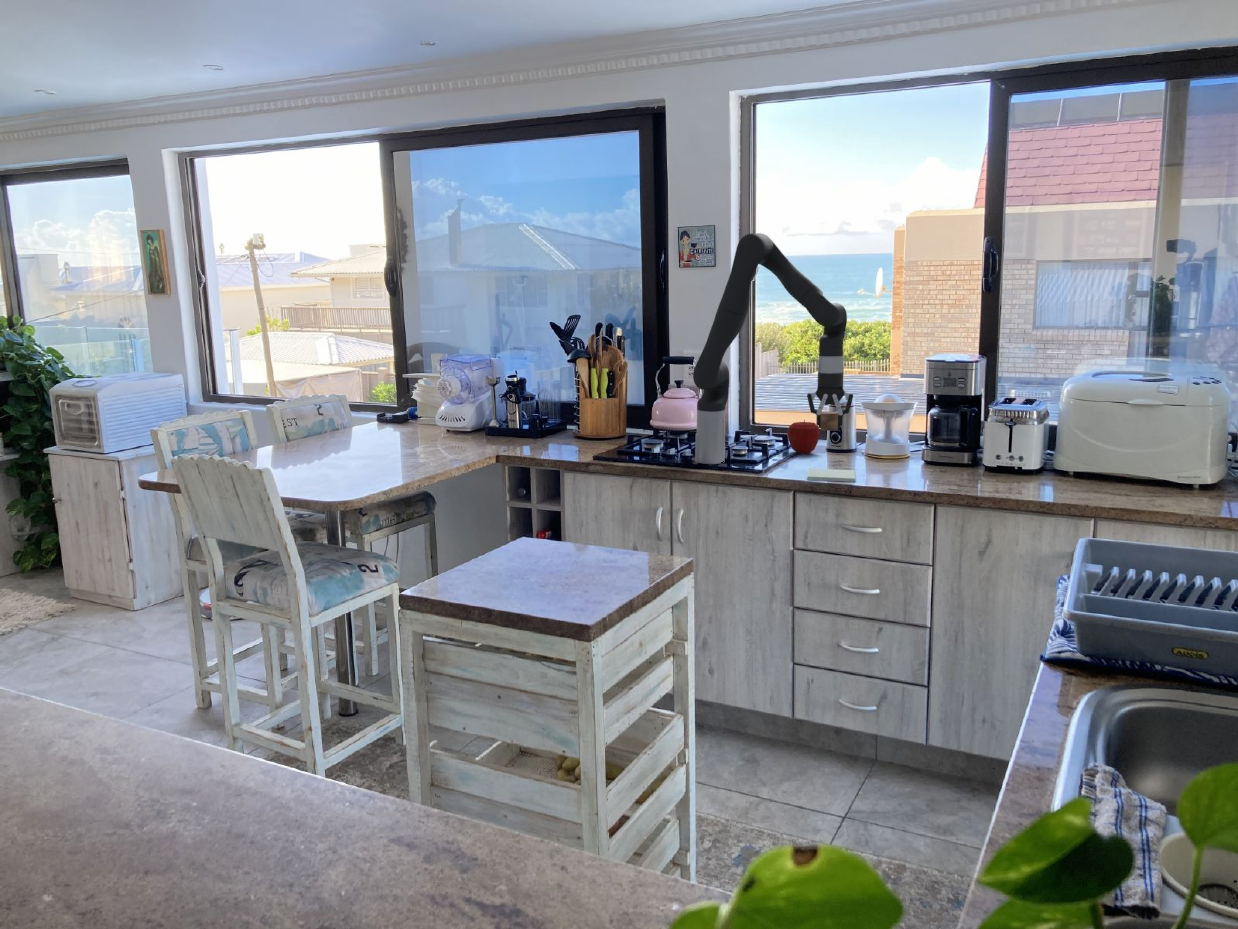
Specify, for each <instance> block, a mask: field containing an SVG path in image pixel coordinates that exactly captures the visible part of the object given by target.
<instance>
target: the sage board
mask: <svg viewBox="0 0 1238 929" xmlns="http://www.w3.org/2000/svg"><path fill="white" fill-rule="evenodd" d="M856 479H857V478H856V470H854V469H853V470H851V469H831V468H829V469H828V468H825V469H824V468H808V472H807V480H808V481H826V482H827V481H830V482H849V483H851V482H852V483H853V482H854V483H856Z"/></svg>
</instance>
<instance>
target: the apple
mask: <svg viewBox="0 0 1238 929" xmlns="http://www.w3.org/2000/svg"><path fill="white" fill-rule="evenodd" d="M786 433H787V441H788V443H789V444H790V448H791V450H792V451H794V453H795V454H798V455H809V454H811V453H812V452H813V451H815V449H816V448H817V445H818V442H819V439H820V435H821V430H820V427H819V426H818V425H817V424H816V423H815V422H813V421H812V422H811V421H810V422H809V421H806V420H805V419H804V420H803V421H797V422H793V423H791V425H789V426H788V429H787V430H786Z"/></svg>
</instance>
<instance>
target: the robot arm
mask: <svg viewBox="0 0 1238 929" xmlns="http://www.w3.org/2000/svg"><path fill="white" fill-rule="evenodd" d="M733 257H734V259H733V261H732V266H731V270H730V273H729V277H728V280H727V283H726V285H725V288H724V291H723V294H722V296H721V299H720V302H719V304H718V307H717V310H716V313H715V316H714V319H713V321H712V322H713V323H712V325H711V327H710V331H709V333H708V336H707V338H706V342H705V344H704V347H703V349H702V351H701V354H700V355H699V357H698V359H697V362H696V363H695V366H694V369H693V373H692V374H693V376H692V378H693V383H694V385H695V386H696V387H697V388H698V389H699V390H703V392H702V395H701V396H700V398H699V399H698V400H697V403H696V433H695V439H694V440H695V447H694V448H695V449H694V450H695V451H694V455H695V456H694V459H695V460H694V462H695V463H696V464H697V463H698V464H704V465H717V464H722V463H721V462H723V461H724V462H725V457H726V455H725V454H726V453H725V452H726V409H727V408H726V406H727V403H728V400H729V393H730V370H729V368H728V365H727V364H726V362H724V361H723V359H724V356H725V354H726V352H727V350H728V349H729V347H730V345H732V343H733V342H734V340H735V339H736V338H737V337H738V335H739V334H740V332H741V331H742V329H743V326H744V324H745V321H746V319H747V316H748V312H749V309H750V305H751V304H750V302H751V286H752V285H751V283H752V280H753V277H754V275H755V273H756V270H757V268H758V265H760V266H762V267H764V268H765V269H766V270H769V271H770V272H771V273H772V274H773V275H775V277H776V278H777V279H778V280H779V282H780V283H781V284H782V286H783V288H784V289H785V290H786V291H787V293H788V294H789V295H790V297H792V298H793V299H794V300H795V301H797V302H798V303H799V304H800V305H801V306H802V307H803V308H805V309H806V311H807V312H808V313H809V315H810V317H811V318H813V320H814V321H815V322H816V323H817V324H819V325H820V326H822V327H823V333H822V336H821V337H820V339H819V343H818V360H817V361H818V362H817V388H816V390H815V391H814V392H808V393H807V395H806V397H807V402H808V407H809V411H810V413H811V414H815V416H816V423H815V424H816V425H817V426H818V427H819V428H821V412H823V409H824V406H829V405H830V406H831V405H832V406H835V407H836V411H837V412H838V429H839V428H841V426H842V425H843V416H844V415H847V414H849V413H850V410H851V406H852V403H853V399H854V393H852V392H851V393H849V392H846V391H845V390H844V370H845V369H844V368H845V367H844V364H845V363H844V338H845V334H846V327H847V323H848V322H847V321H848V315H847V310H846V308H845V306H844V305H842V304H841V303H838V302H833V303H832V302H831V301H829V300H828V299H827V297H825V296H824V293H823V291H822V290H821V288H820V287H819V286H818V285H816V284H815V283H814V282H813V281H812V280H811V279H810V278H808V277H807V276H806V275H805V274H804V273H802V272H801V271H800V270H799V269H798V267H796V266H795V265H794V264H793V263H792V262H791V261H790V259H788V258H787V257H786V256H785V254H784V253H783V251H781V250H780V248H779V247H778V246H777V244H776V243H775V242H774V241H773V239H771V237H770V236H768V235H766V234H764V233H758V232H757V233H747V234H745V235H743V236H742V237H741V238H740V239H739V241H738V244H737V246H736V249H735V253H734V256H733ZM816 397H817V398H818V400H819V401H820V403H819V405H818V408H817V409H816V408H815V404H814V400H815V399H816ZM843 397H845V400H846V405H845V408H844V409H842V406H841V403H840V402H841V401H842V399H843ZM724 462H723V463H724Z"/></svg>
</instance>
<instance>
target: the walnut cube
mask: <svg viewBox="0 0 1238 929" xmlns="http://www.w3.org/2000/svg"><path fill="white" fill-rule="evenodd" d="M838 415H839V413H838V411H822V412H821V427H820V431H834V432H835V431H838V430H839V428H838Z"/></svg>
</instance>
